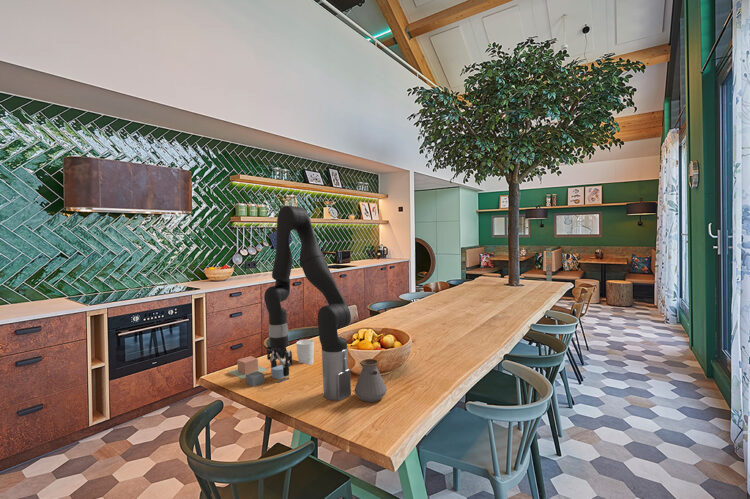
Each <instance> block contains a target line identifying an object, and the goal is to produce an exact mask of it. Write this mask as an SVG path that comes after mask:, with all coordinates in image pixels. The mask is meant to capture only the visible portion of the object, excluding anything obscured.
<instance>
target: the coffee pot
mask: <svg viewBox="0 0 750 499" xmlns="http://www.w3.org/2000/svg"><path fill="white" fill-rule="evenodd" d="M378 364H379V360H378V359H375V358H367V359H363V360H361V361H360V362H359V365H360V366H361V368H362V369H361V371H360V375H359V376H358V380H357V382H356V385H355V387H354V394H355V396H356V397H358V399H360V400H361V401H362V402H365V403H373V402H374V403H375V402H378V401H380V400H381V399H382V398H383V397H384V396H385V395H386V392H387V386H386V383H385V382H384V379H383V377H382V375H381V373H380V370H379V369H378Z"/></svg>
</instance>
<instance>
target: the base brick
mask: <svg viewBox="0 0 750 499" xmlns="http://www.w3.org/2000/svg"><path fill="white" fill-rule="evenodd" d="M236 361H237V362H236V363H237V369H238V372H240V373H242V374H245V375H246V374H249V373H252V372H255V371H258V366H259V360H258V358H256V357H254V356H252V355H250V356H247V357H242V358H239V359H237V360H236Z"/></svg>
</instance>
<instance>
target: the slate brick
mask: <svg viewBox="0 0 750 499" xmlns="http://www.w3.org/2000/svg"><path fill="white" fill-rule="evenodd" d="M265 380H266V379H265V373H263V372H258V371H256V372H253V373H250V374H247V375H246V378H245V383H246V385H248V386H251V387H256V386H259V385H262V384H264V383H265V382H266V381H265Z"/></svg>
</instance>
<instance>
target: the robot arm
mask: <svg viewBox="0 0 750 499" xmlns="http://www.w3.org/2000/svg"><path fill="white" fill-rule="evenodd" d="M291 231H296V234H297V236H298V238H299V241H300V252H299V263H300V266H301V269H302V272H303V274H304V276H305V278H306V279H307V281H308V282H309V283H310V284H311V285H312V286H314V287H315V288H316V289H317V291H319V293H321V294H322V296H323V297H324V298H325V299H326V302H327V305H324V306H321V307H320V309H319V310H318V313H317V326H318V327H317V328H318V339H319V343H320V344H321V362H322V363H321V364H322V365H321V366H322V367H321V368H322V389H323V398H325V399H326V400H329V401H338V402H340V401H343V400H344V399H346V398H348V397H350V396H351V395H352V383H351V381H352V379H351V369H350V368H349V361H348V360H349V359H348V358H349V356H348V341H347V339H346V338H344V337H340V336H339V333H338V330H341V329H343V328H345V327H348V326H349V325H350V324H351V320H352V315H351V312H350V311H351V310H350V308H349V306H348V303H347V302H346V300H345V299H344V296H343V295H342V294H341V291H340V290H339V287H338V286H337V284H336V281H335V279H334V277H333V275H332V273H331V270H330V268H329V265H328V263H327V260H326V258H325V256H324V254H323V252H322V250H321V247H320V244H319V242H318V239H317V236H316V234H315V231H314V227H313V225H312V221H311V218H310V216H309V213H308V211H307V210H306V209H305V208H303V207H299V206H295V205H294V206H292V205H284V206H282V207H281V208H280V209H279V210H278V214H277V219H276V239H275V240H276V242H275V243H276V244H275V246H276V247H275V257H274V262H273V266H272V271H271V277H272V279H273V280H275V284H274V285H272V286H269V287H267V289H265V291H264V298H263V300H264V303H265V306H266V310H267V313H268V342H269V343H268V344H269V345H267V346H266V349H267V350H266V352H267V353H266V359H267V361H269V362H270V369H271V368H273V367H276V366H278V365H277V362H278V361H279V363H280V364H281V365H283V376H286V377H289V376H290V367H291V366H293V355H292V354H293V353H292V350H287V347H288V345H289V326H288V314H287V310H286V308H283V307H282V305H281V303H282V302H284V301H287V299H288V298H289V296H290V292H291V280H290V276H291V272H292V267H293V254H292V251H291V247H290V234H291ZM277 360H278V361H277ZM288 375H289V376H288Z"/></svg>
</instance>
